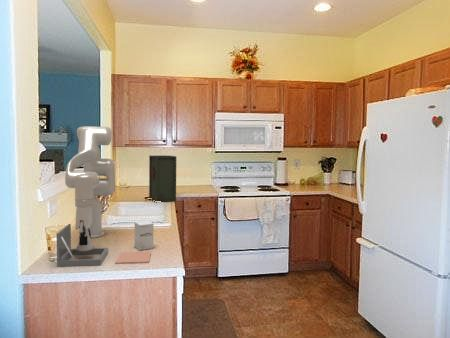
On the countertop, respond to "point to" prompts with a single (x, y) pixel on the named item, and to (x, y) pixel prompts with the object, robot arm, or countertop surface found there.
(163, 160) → the dark green tall block
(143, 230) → the supplement box
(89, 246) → the flask
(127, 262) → the plate
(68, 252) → the case
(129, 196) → the countertop surface
